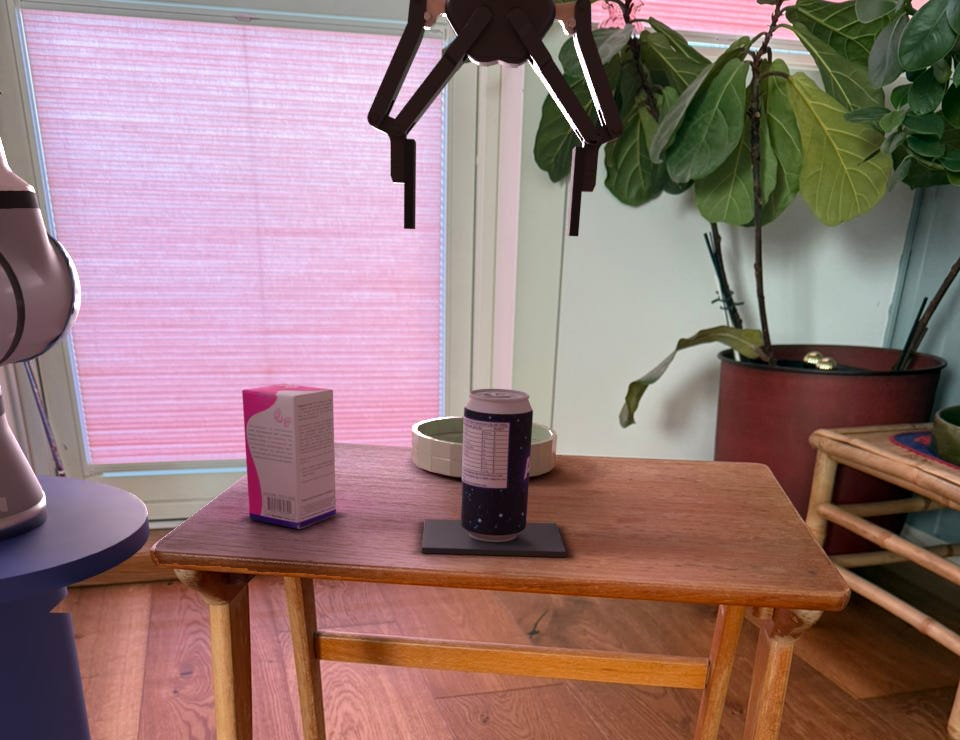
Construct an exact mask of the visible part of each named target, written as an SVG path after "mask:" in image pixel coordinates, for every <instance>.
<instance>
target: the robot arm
mask: <svg viewBox="0 0 960 740" xmlns="http://www.w3.org/2000/svg"><path fill="white" fill-rule="evenodd" d="M441 17H445V18H446V21H447V22H448V24H449V26H450V28H451V30H452V32H453V33H454V35H455V36H456V37H455V38H454V39H453V40H452V42H451V43H450V44H449V46H448V47H447V49H446V50H445V52H444V53H443V55H442V56H441V57H440V59H439V60H438V61H437V63H435V66H434V67H433V68H432V69H431V70H430V72H429V74H428V75H427V76H426V77H425V79H423V81H422V82H421V84H420V85H419V86H418V87H417V89H416V90H415V91H414V93H413V94H412V96H411V97H410V98H409V99H408V100H407V102H406V103H405V105H404V106H403V107H402V109H401V110H400V111H399V112H398V114H397V115H396V116H395V117H393V116H390V114H391V113H392V110H393V107H394V106H395V103H396V101H397V98H398V96H399V95H400V92H401V89H402V87H403V85H404V83H405V81H406V79H407V77H408V74H409V71H410V69H411V67H412V65H413V63H414V61H415V58H416V55H417V53H418V51H419V49H420V47H421V45H422V42H423V39H424V37H425V32H426V30H433V28H434V27H435V26H436V24H437V20H438V19H439V18H441ZM555 22H556V23H559V24H560V25H561V26H562V30H563V32H564V34H565V35H566V36H568V37H572V39H573V45H574V48H575V52H576V55H577V58H578V61H579V64H580V66H581V69H582V72H583V75H584V78H585V81H586V85H587V87H588V90H589V92H590V96H591V98H592V101H593V104H594V107H595V109H596V112H597V115H598V118H599V121H600V125H601V126H598V127H597V126H596V125H595V123H594V122H593V120H592V119H591V117H590V116H589V114H588V113H587V111H586V109H585V108H584V106H583V105H582V103H581V101H580V100H579V99H578V97H577V95H576V94H575V92H574V91H573V89H572V87H571V86H570V85H569V83H568V81H567V79H566V78H565V77H564V75H563V73H562V71H561V70H560V68H559V67H558V65H557V64H556V62H555V61H554V59H553V56H552V55H551V52H550V51H549V48H547V46H546V45H545V43H544V42H543V40H544V38H545V36H546V35H547V33H548V32H549V31H550V29H551V28H552V26H553V25H554V23H555ZM592 29H593V27H592V2H591V0H576V1H570V2H569V1H568V2H557V3H555V1H554V0H409V3H408V14H407V23H406V25H405V28H404V30H403V32H402V34H401V37H400V39H399V41H398V44H397V45H396V48H395V50H394V52H393V55H392V57H391V60H390V62H389V64H388V66H387V69H386V70H385V74H384V76H383V78H382V81H381V83H380V85H379V87H378V90H377V92H376V94H375V97H374V99H373V101H372V104H371V105H370V108H369V110H368V113H367V117H366V118H367V119H366V120H367V123H368V124H369V125H370V127H372V128H373V129H374V130H376V131H378V132H381V133H383V134H385V135H387V137H388V138H389V141H390V179H391V181H392V183H393V184H399V185H403V229H404V230H416V209H417V208H416V203H417V202H416V201H417V199H416V197H417V195H416V192H417V191H416V190H417V141H416V140H415V139H414V138H408V135H409V134H410V132H411V131H412V130H413V129H414V128H415V126H416V125H417V124H418V123H419V121H420V120H421V118H422V117H423V116H424V114H425V113H426V112H427V111H428V110H429V108H430V107H431V105H433V103H434V102H435V100H436V99H437V98H438V97H439V96H440V94H441V93H442V91H443V90H444V88H446V86H447V85H448V84H449V82H450V81H451V80H452V79H453V77H454V75H456V73H457V72H458V71H460V69H461V68H462V67H463V66H464V64H465V63H466V61H467V60H468V59H469V60H470V61H471V62H472V63H474V64H475V65H477V66H478V67H487V68H488V67H491V66H496V65H499V66H502V67H504V68H509V69H510V68H512V69H518V67H521V66H522V65H524V64H526V63H527V62H528V64H529V65H530V66H531V68H532V70H533V71H534V72H535V74H536V75H537V77H538V78H539V79H540V81H541V82H542V83H543V85H544V86H545V88H546V90H547V91H548V93H549V94H550V96H551V98H552V99H553V100H554V102H555V103H556V105H557V107H558V108H559V110H560V111H561V113H562V114H563V116H564V117H565V120H567V122H568V124H569V125H570V127H571V129H572V131H573V132H574V133H575V135H576V136H577V138H578V139H579V141H580V142H581V146H577V145H575V146H574V147H573V148H572V153H571V155H572V156H571V168H570V169H571V170H570V182H569V183H570V184H569V195H568V196H569V197H568V208H567V209H568V210H567V221H566V222H567V223H566V226H567V227H566V237H579V232H580V221H581V220H580V219H581V207H582V193H593V192H594V190H595V187H596V185H597V176H598V175H597V174H598V165H599V164H598V162H599V151H600V148H601V147H602V145H604V144H607V143H610V142H612V141H616V140H617V139H619V138H620V137H622V135H623V133H624V131H625V128H624V124H623V121H622V117H621V114H620V112H619V109H618V105H617V103H616V99H615V97H614V93H613V90H612V88H611V84H610V82H609V79H608V76H607V73H606V70H605V67H604V64H603V61H602V58H601V55H600V51H599V49H598V46H597V43H596V40H595V37H594V34H593V30H592ZM81 301H82V291H81V282H80V278H79V273H78V271H77V268H76V265H75V263H74V261H73V259H72V258H71V255H70V254H69V252H68V251H67V249H66V248H65V247H64V245H62V243H61V242H60V241H59V240H58V239H57V238H55V237H54V236H53V235H52V234H51V233H50V232H49V231H48V230H47V228H46V226H45V223H44V219H43V215H42V211H41V208H40V205H39V201H38V198H37V194H36V191H35V189H34V187H33V186H32V185H31V184H29V183H28V182H27V181H26V180H24V179H23V178H22V177H20V176H19V175H18V174H16V173H15V172H14V171H13V170H12V169H11V168H10V166H9V164H8V160H7V158H6V154H5V150H4V146H3V143H2V139H1V138H0V367H3V366H4V367H5V366H8V365H11V364H12V365H13V364H17V363H27V362H30V361H32V360H36V359H37V358H39V357H41V356H44V354H46V353H47V352H49V351H50V350H52V349H53V348H55V347H57V346H59V344H60V343H61V342H63V341H64V340H65V339H66V338H67V336H68V335H69V334H70V332H71V331H72V329H73V328H74V325H75V324H76V321H77V319H78V316H79V314H80V313H79V312H80V308H81ZM35 475H36V474H35V472H34V470H33V467H31V465H30V463H29V461H28V459H27V457H26V455H25V453H24V452H23V450H22V448H21V446H20V444H19V442H18V441H17V438H16V437H15V435H14V433H13V431H12V429H11V427H10V424H9V422H8V419H7V414H6V407H5V402H4V397H3V391H2V385H1V383H0V541H4V540H8V539H11V538H14V537H17V536H20V535H22V534H25V533H27V532H29V531H31V530H33V529H35V528H37V527H38V526H40V525H41V524H42V523H43V522H44V521H45V520H46V519H47V517H48V512H47V506H46V500H45V494H44V492H43V490H42V487H41V485H40V483H39V482H38V480H37V478H36V476H35Z"/></svg>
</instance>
